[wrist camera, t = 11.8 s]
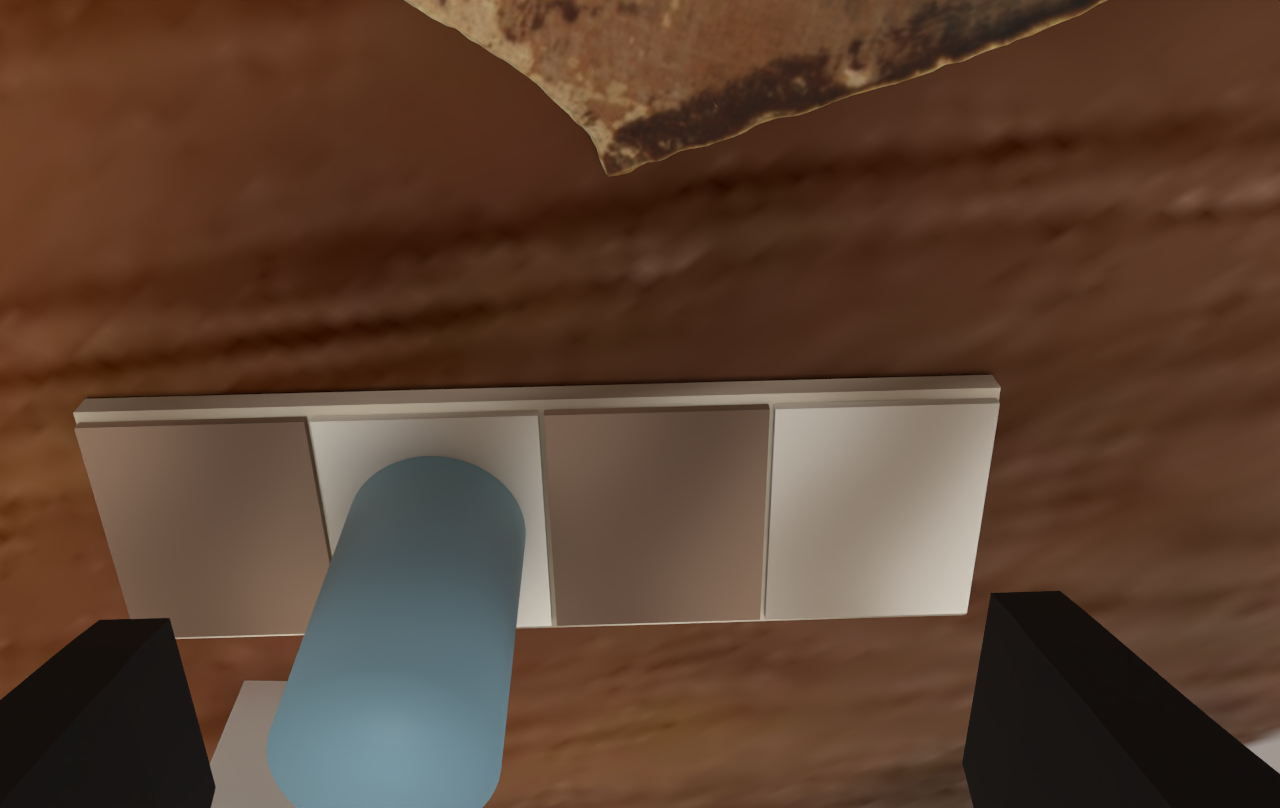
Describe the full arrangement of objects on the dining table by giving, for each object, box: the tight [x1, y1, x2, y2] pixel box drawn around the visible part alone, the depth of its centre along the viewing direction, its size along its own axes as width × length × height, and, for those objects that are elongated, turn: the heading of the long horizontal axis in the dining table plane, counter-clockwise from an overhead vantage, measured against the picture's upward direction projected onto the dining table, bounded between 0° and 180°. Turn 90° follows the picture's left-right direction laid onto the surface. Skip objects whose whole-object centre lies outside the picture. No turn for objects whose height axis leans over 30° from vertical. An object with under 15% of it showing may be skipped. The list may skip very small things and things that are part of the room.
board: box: [73, 375, 1001, 639], centre depth 20 cm, size 16×5×1 cm, turn 91°
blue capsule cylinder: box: [267, 456, 526, 808], centre depth 18 cm, size 3×3×6 cm
